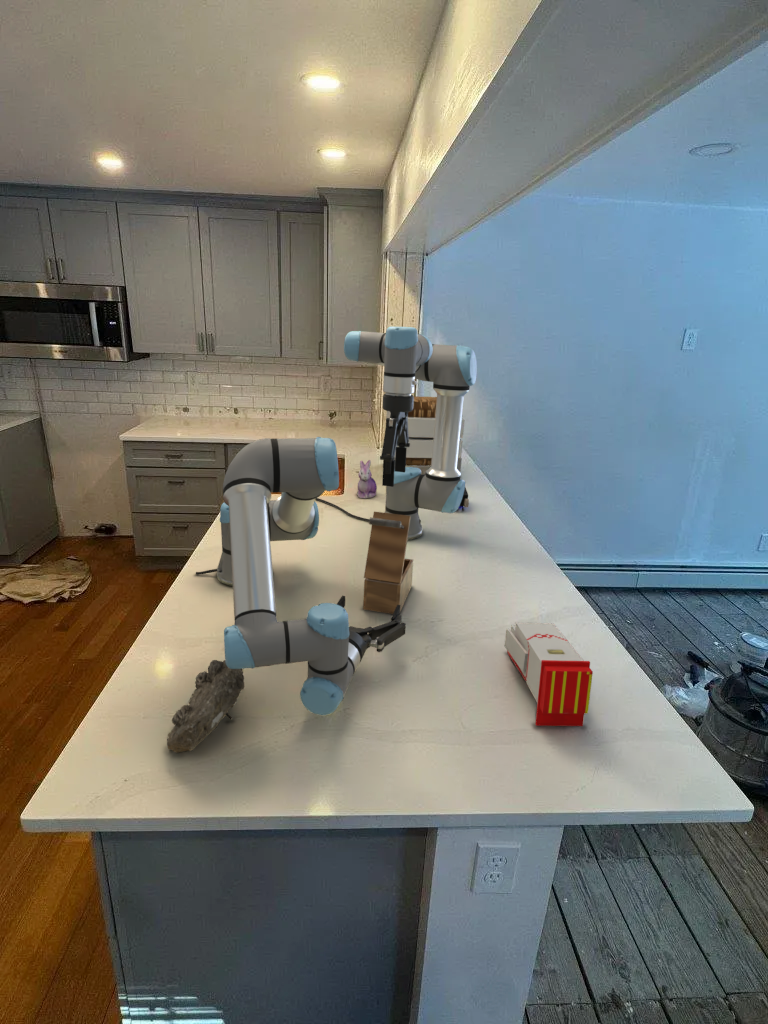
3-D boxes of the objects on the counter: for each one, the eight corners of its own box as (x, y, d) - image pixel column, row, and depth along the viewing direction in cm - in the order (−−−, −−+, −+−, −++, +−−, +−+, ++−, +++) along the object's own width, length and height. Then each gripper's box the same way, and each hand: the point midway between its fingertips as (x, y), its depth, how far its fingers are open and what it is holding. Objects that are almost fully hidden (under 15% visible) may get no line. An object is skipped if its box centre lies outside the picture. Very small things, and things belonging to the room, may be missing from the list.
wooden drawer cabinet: (382, 463, 289) (386, 382, 275) (445, 464, 293) (451, 384, 279) (390, 482, 257) (394, 392, 243) (460, 483, 261) (468, 394, 247)
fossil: (192, 660, 117) (244, 628, 112) (224, 691, 120) (276, 661, 115) (142, 746, 98) (202, 712, 93) (182, 779, 101) (242, 748, 96)
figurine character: (468, 516, 224) (463, 500, 237) (471, 498, 221) (465, 483, 234) (452, 515, 224) (447, 499, 237) (453, 498, 220) (449, 482, 234)
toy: (550, 607, 134) (601, 667, 105) (545, 659, 137) (594, 732, 108) (499, 606, 134) (537, 666, 104) (495, 659, 137) (530, 731, 107)
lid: (374, 512, 148) (367, 507, 140) (410, 516, 146) (405, 511, 138) (364, 577, 146) (356, 576, 138) (401, 583, 144) (395, 582, 136)
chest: (379, 581, 164) (380, 554, 161) (411, 586, 162) (413, 559, 159) (363, 609, 149) (364, 580, 146) (398, 615, 147) (400, 585, 144)
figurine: (361, 500, 232) (362, 464, 227) (351, 492, 241) (352, 458, 236) (382, 497, 237) (383, 462, 232) (371, 490, 245) (372, 456, 240)
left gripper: (287, 659, 120) (321, 610, 139) (402, 681, 115) (421, 627, 134) (286, 628, 117) (321, 583, 137) (404, 649, 112) (423, 599, 131)
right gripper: (402, 402, 124) (397, 494, 132) (423, 388, 147) (417, 467, 155) (369, 399, 126) (366, 490, 133) (395, 386, 149) (391, 464, 156)
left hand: (370, 605), depth 135 cm, fingers open, 13 cm apart
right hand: (394, 478), depth 144 cm, fingers open, 13 cm apart
